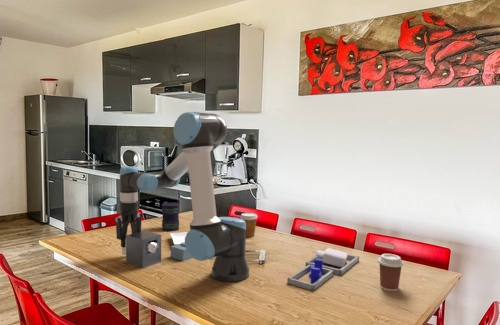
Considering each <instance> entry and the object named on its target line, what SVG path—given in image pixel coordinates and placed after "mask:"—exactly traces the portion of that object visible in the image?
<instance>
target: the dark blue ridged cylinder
mask: <svg viewBox="0 0 500 325" xmlns="http://www.w3.org/2000/svg"><path fill="white" fill-rule="evenodd" d="M161 214H162V220H161V226H162V227H161V230H162V231H164V232H176V231H179V229H180V220H179V217H180V203H179V202H172V201H171V202H163V203H161Z"/></svg>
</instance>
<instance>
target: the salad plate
mask: <svg viewBox="0 0 500 325" xmlns="http://www.w3.org/2000/svg"><path fill="white" fill-rule="evenodd" d="M188 232H189V231H185V232H182V231H181V232H170V233H169V236H170V237H171V239H172V243H173V246H174V245H178V246H180V243H183V242H185V236H186V234H187V233H188Z"/></svg>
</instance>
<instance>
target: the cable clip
mask: <svg viewBox="0 0 500 325" xmlns="http://www.w3.org/2000/svg"><path fill="white" fill-rule="evenodd" d="M323 263H324V262H323V259H322V258H321V259H315V266H313V265H311V268H310V271H309V274H308V278H310V283H311V284H313V283H315V282H316V281H317V280H319V279H320V278H321V277H322V276H323V275H322V274H323V273H322V265H323V266H324V264H323Z"/></svg>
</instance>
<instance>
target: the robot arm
mask: <svg viewBox="0 0 500 325" xmlns="http://www.w3.org/2000/svg"><path fill="white" fill-rule="evenodd" d="M227 135H228V126H227V123H226V121H225V119H224V118H223V117H222V116H220V115H219V114H217V113H216V114H215V113H206V112H200V111H199V112H198V111H192V112H191V111H190V112H189V111H187V112H183V113H182V114H180V115H179V116H178V117H177V120H175V123H174V125H173V137H174V139H175V140H176V142H177V143H179V144H180V145H181V150H182V151H181V153H179V155H177V157H175V158H174V159H173V160H172V162H171V163H169V165H167V166H166V167H165V168H164V169H163V170H161V171H152V172H139V170H138V167H137V166H123V167H120V169H119V201H120V202H119V208H120V209H119V210H120V213H119V214H120V215H119V216H118V217H114V222H115V229H116V239H117V240H119V241H120V247H121V253H122V254H123V255H125V256H126V235H128V229H129V228H128V227H129V226H130V230H131V231H130V232H131V234H133V233H137V232H141V231H142V219H143V215H144V214H143V213H141V212H138V209H139V196H138V195H139V191H142V192H144V193H146V192H148V193H149V192H151V193H152V192H153V191H155V190H159V189H166V188H169V189H171V188H173V187H176V186H178V185H179V184H180V181H181V177H183V176H184V175H185V174H186V173H187V172H188V179H189V187H190V200H191V208H192V217H193V218H192V220H191V221H190V223H189V231H187V232H188V233H187V234H186V236H185V246H186V249H187V251H188V253H189V254H190V255H191V256H192V257H193V259H194V260H196V261H199V262H202V261H206V260H211V259H213V258H215V259H214V262H213V264H212V268H211V277H213V278H214V279H215V280H217V281H220V282H227V283H228V282H231V283H232V282H233V283H234V282H240V281H243V280H245V279H248V278H249V276H250V267H249V264H248V260H247V257H246V241H247V239H246V238H247V237H246V223H245V221H244V220H243V219H241V218H239V217H231V216H219V217H218V216H217V207H216V198H215V188H214V178H213V169H212V168H213V167H212V159H211V151H213V150H216V149H217V148H218V147H219V146H220V145H222V143H223V142H224V141H225V138H226V137H227Z"/></svg>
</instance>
